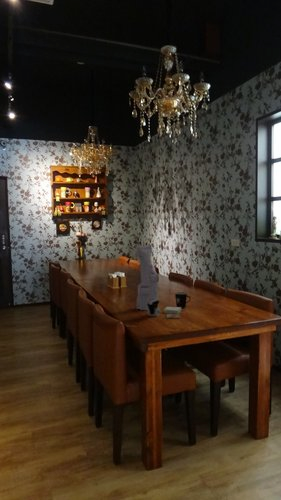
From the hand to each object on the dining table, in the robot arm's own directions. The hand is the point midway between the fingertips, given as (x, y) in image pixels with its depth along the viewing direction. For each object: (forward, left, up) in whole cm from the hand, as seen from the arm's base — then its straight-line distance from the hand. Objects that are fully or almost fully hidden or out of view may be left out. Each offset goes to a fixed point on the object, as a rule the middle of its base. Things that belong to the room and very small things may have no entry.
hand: (153, 313), depth 216 cm
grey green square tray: (+10, +12, -1) cm, 16 cm away
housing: (0, 0, -2) cm, 2 cm away
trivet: (+13, -1, -1) cm, 13 cm away
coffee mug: (+14, +25, -2) cm, 29 cm away
